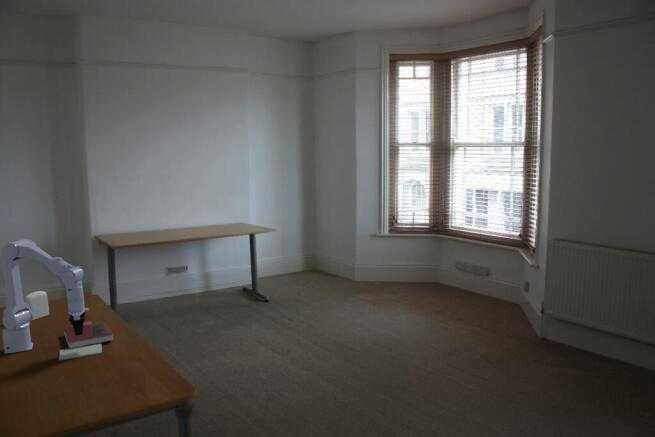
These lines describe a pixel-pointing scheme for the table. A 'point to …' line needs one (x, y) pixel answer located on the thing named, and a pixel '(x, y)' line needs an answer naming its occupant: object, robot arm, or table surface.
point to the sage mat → (80, 351)
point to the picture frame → (99, 335)
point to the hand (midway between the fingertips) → (79, 333)
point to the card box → (85, 333)
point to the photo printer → (38, 304)
